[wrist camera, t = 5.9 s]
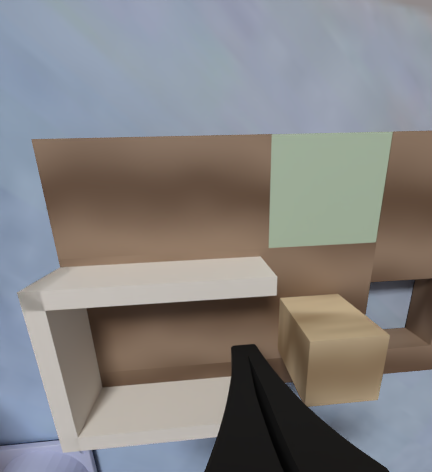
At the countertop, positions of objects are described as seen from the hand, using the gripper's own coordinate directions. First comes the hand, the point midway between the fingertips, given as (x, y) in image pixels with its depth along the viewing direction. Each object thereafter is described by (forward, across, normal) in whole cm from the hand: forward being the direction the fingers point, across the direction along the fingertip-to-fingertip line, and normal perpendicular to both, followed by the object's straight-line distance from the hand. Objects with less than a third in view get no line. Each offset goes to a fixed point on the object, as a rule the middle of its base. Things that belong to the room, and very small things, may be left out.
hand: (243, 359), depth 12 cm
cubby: (+3, +4, 0) cm, 5 cm away
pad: (+4, -6, -9) cm, 11 cm away
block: (+3, -5, 0) cm, 6 cm away
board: (+5, -3, -4) cm, 6 cm away
